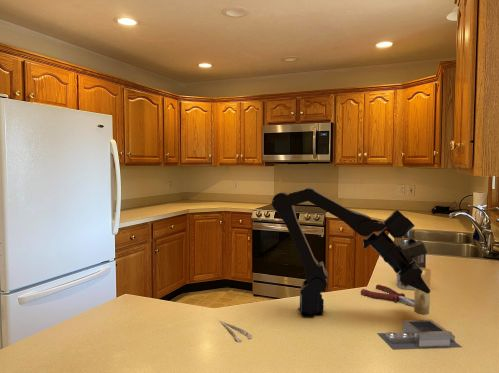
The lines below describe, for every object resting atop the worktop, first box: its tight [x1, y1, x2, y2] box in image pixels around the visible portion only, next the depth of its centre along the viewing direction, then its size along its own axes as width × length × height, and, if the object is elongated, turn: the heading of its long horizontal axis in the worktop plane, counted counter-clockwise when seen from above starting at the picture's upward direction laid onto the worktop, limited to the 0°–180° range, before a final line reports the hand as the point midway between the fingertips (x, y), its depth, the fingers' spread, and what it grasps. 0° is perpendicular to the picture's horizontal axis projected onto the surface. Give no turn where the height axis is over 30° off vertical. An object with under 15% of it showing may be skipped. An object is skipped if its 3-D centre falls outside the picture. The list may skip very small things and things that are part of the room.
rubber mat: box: [376, 332, 463, 351], centre depth 93 cm, size 18×9×1 cm, turn 95°
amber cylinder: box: [413, 267, 432, 316], centre depth 104 cm, size 4×4×12 cm
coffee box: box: [395, 243, 427, 291], centre depth 138 cm, size 9×6×16 cm
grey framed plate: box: [385, 319, 456, 348], centre depth 93 cm, size 17×8×4 cm, turn 95°
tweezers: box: [218, 320, 253, 343], centre depth 101 cm, size 17×5×2 cm, turn 32°
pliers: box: [360, 284, 414, 307], centre depth 125 cm, size 12×20×3 cm, turn 36°
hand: (427, 290), depth 104 cm, fingers closed on amber cylinder, 4 cm apart
